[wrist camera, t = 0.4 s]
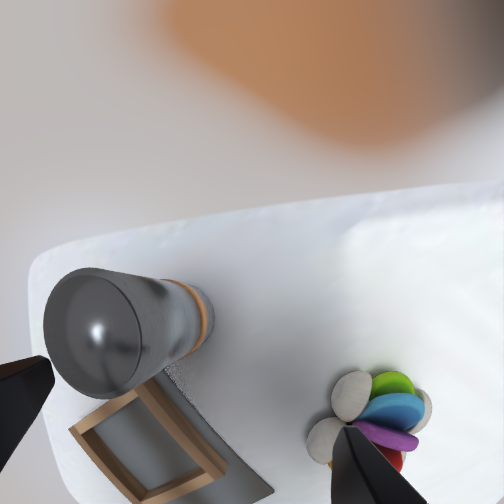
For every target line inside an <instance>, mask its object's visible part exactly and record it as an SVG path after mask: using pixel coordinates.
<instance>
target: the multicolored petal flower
mask: <svg viewBox="0 0 504 504" xmlns="http://www.w3.org/2000/svg"><path fill="white" fill-rule="evenodd" d="M331 404H332V408H333V410H334V412H335V414H336V415H337V416H338V417H330V418H326V419H323V420H321V421H320V422H318V423H317V424H316V425H314V427H313V428H312V429H311V431H310V433H309V435H308V438H307V442H306V446H307V450H308V453H309V455H310V456H311V458H312V459H313V460H314V461H316V462H317V463H319V464H327V463H328V465H329V467H330V468H331V470H332V450H333V445H334V442H335V440H336V438H337V436H338V433H339V431H340V429H341V428H342V427H343V426H347V425H346V422H350V421H354V422H353V423H352V426H357V427H358V428H359V429H360V430H361V431H362V432H363V433H364V435H365V436H366V437H367V438H368V439H369V440H370V441H371V442H372V443H373V445H374V446H375V447H376V448H377V449H378V450H379V451H380V452H381V453H382V454H383V455H384V457H385V458H386V459H387V460H388V461H389V462H390V463H391V464H392V465H393V466H394V467H395V468H396V470H397V471H398V472H399V473H400V471H401V469H402V466H403V463H404V461H405V458H406V452H410V451H413V450H415V449H416V448H417V446H418V443H419V440H418V438H417V437H415V436H413V434H415V433H417V432H419V431H420V430H421V429H423V428H424V427H425V426H426V424H427V423H428V421H429V419H430V417H431V413H432V403H431V400H430V398H429V396H428V395H427V394H426V393H425V392H424V391H423V390H421V389H418V388H415V389H414V386H413V384H412V382H411V380H410V379H409V378H408V377H407V376H406V375H404V374H403V373H400V372H397V371H389V372H385V373H382V374H379V375H378V376H376V377H374V378H373V379H372V378H371V375H370V374H369V373H368V372H366V371H355V372H351V373H348V374H346V375H345V376H343V377H342V378H341V379H340V380H339V381H338V382H337V384H336V385H335V387H334V389H333V392H332V396H331Z"/></svg>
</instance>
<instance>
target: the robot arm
mask: <svg viewBox="0 0 504 504" xmlns="http://www.w3.org/2000/svg"><path fill="white" fill-rule="evenodd" d="M54 384H55V377H54V373H53V369H52V365H51V362H50V360H49V359H48V358H45V357H43V356H41V355H37V356H33V357H30V358H26V359H22V360H18V361H14V362H10V363H6V364H2V365H0V472H1V471H2V469H3V468H4V466H5V464H6V463H7V461H8V460H9V458H10V457H11V455H12V453H13V452H14V450H15V449H16V447H17V446H18V444H19V443H20V441H21V440H22V438H23V436H24V435H25V434H26V432H27V431H28V429H29V427H30V426H31V425H32V423H33V421H34V420H35V419H36V417H37V415H38V413H39V412H40V410H41V408H42V406H43V404H44V402H45V401H46V399H47V397H48V395H49V393H50V392H51V390H52V388H53V386H54ZM331 504H427V501H426V500H425V499H424V498H423V497H422V496H421V495H420V494H419V493H418V492H417V491H416V490H415V489H414V488H413V487H412V486H411V484H410V483H409V482H408V481H407V480H406V479H405V478H404V477H403V476H402V475H401V474H400V473H399V472H398V471H397V470H396V468H395V467H394V466H393V465H392V464H391V463H390V462H389V461H388V460H387V459H386V458H385V457H384V455H383V454H382V453H381V452H380V451H379V450H378V449H377V448H376V447H375V446H374V445H373V443H372V442H371V441H370V440H369V439H368V438H367V437H366V436H365V435H364V433H363V432H362V431H361V430H360V429H359V428H358V427H357V426H343V427H342V428H341V429H340V431H339V433H338V436H337V438H336V440H335V442H334V445H333V450H332V479H331Z"/></svg>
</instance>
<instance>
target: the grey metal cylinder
mask: <svg viewBox="0 0 504 504" xmlns="http://www.w3.org/2000/svg"><path fill="white" fill-rule="evenodd" d="M213 325H214V311H213V307H212V305H211V302H210V301H209V299H208V298H207V296H206V295H205V294H204V293H203V292H202V291H201V290H199V289H198V288H196V287H194V286H191V285H188V284H184V283H182V282H178V281H173V280H167V279H153V278H147V277H142V276H136V275H130V274H125V273H120V272H114V271H109V270H104V269H99V268H82V269H78V270H75V271H73V272H70V273H69V274H67V275H66V276H64V277H63V278H62V279H61V280H60V281H59V282H58V283H57V284H56V286H55V287H54V289H53V290H52V292H51V294H50V296H49V298H48V301H47V304H46V307H45V312H44V320H43V330H44V339H45V344H46V347H47V351H48V354H49V356H50V359H51V361H52V363H53V365H54V366H55V368H56V370H57V371H58V373H59V374H60V375H61V376H62V378H63V379H64V380H65V381H66V382H67V383H68V384H69V385H70V386H71V387H73V388H74V389H75V390H77V391H79V392H80V393H82V394H84V395H86V396H89V397H92V398H96V399H113V398H117V397H120V396H123V395H124V394H126V393H128V392H129V391H131V390H132V389H134V388H136V387H137V386H139V385H140V384H142V383H143V382H145V381H147V380H148V379H150V378H151V377H153V376H154V375H156V374H157V373H159V372H160V371H162V370H163V369H165V368H167V367H168V366H170V365H171V364H173V363H174V362H176V361H177V360H179V359H182V358H184V357H186V356H187V355H189V354H190V353H192V352H193V351H194V350H196V349H197V348H198V347H199V346H200V345H201V344H202V343H203V342H205V341H206V339H207V338H208V337H209V335H210V334H211V331H212V329H213Z"/></svg>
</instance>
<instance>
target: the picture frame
mask: <svg viewBox="0 0 504 504" xmlns="http://www.w3.org/2000/svg"><path fill="white" fill-rule="evenodd" d="M68 430H69V431H70V433H71V434H72V435H73V437H74V438H75V439H76V441H77V442H78V443H79V445H80V446H81V447H82V448H83V450H84V451H85V452H86V453H87V455H88V456H89V457H90V458H91V460H92V461H93V462H94V463H95V464H96V465H97V467H98V468H99V469H100V470H101V471H102V472H103V473H104V475H105V476H106V477H107V478H108V479H109V480H110V481H111V482H112V483H113V484H114V485H115V487H116V488H117V489H118V490H119V491H120V492H121V493H122V494H123V495H124V496H125V497H126V498H127V499H128V500H129V501H130V502H131V503H132V504H253V503H255V502H257V501H259V500H261V499H263V498H265V497H267V496H269V495H271V494H273V493H274V489H273V488H271V487H270V486H269V485H268V484H267V483H266V482H265V481H264V480H263V479H262V478H260V477H259V476H258V475H257V474H256V473H255V472H254V471H253V470H252V469H251V468H250V467H249V466H248V465H247V464H246V463H245V462H244V461H243V460H242V459H241V458H240V457H239V456H238V455H237V454H236V453H235V452H234V451H233V450H232V449H231V448H230V447H229V446H228V445H227V444H226V443H225V442H224V441H223V440H222V439H221V438H220V437H219V435H218V434H217V433H216V432H215V431H214V430H213V429H212V428H211V427H210V426H209V425H208V423H207V422H206V421H205V420H204V419H203V418H202V417H201V415H200V414H199V413H198V412H197V411H196V410H195V409H194V407H193V406H192V405H191V404H190V403H189V401H188V400H187V399H186V398H185V397H184V395H183V394H182V393H181V392H180V391H179V389H178V388H177V387H176V386H175V384H174V383H173V382H172V381H171V379H170V378H169V377H168V375H167V374H166V373H165V372H164V370H162V371H160V372H159V373H157V374H156V375H154V376H153V377H151V378H150V379H148V380H147V381H145V382H143V383H142V384H140V385H139V386H137V387H136V388H134V389H132V390H131V391H129V392H128V393H126V394H124V395H123V396H120V397H117V398H113V399H111V400H109V401H108V402H106V403H105V404H104V405H102V406H101V407H99V408H98V409H96V410H95V411H94V412H92V413H91V414H89V415H88V416H86V417H85V418H84V419H82V420H81V421H79V422H78V423H76V424H75V425H73V426H72V427H71V428H69V429H68Z"/></svg>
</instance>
